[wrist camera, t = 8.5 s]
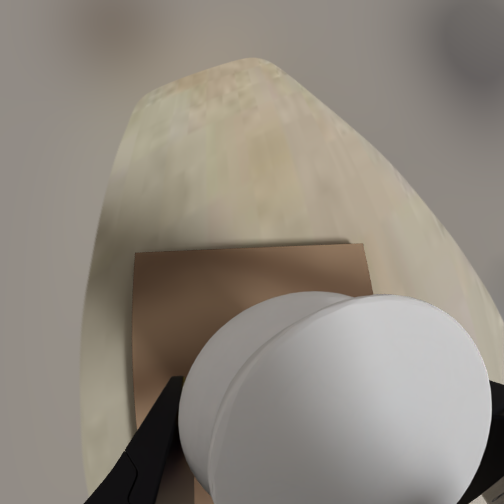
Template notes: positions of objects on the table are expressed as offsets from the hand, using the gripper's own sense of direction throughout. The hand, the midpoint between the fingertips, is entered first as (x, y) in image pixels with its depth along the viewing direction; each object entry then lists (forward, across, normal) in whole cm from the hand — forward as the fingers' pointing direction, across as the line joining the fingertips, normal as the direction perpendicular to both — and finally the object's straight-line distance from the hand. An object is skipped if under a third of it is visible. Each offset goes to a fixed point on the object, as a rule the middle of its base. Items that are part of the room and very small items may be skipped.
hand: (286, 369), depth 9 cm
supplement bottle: (+4, 0, +6) cm, 7 cm away
